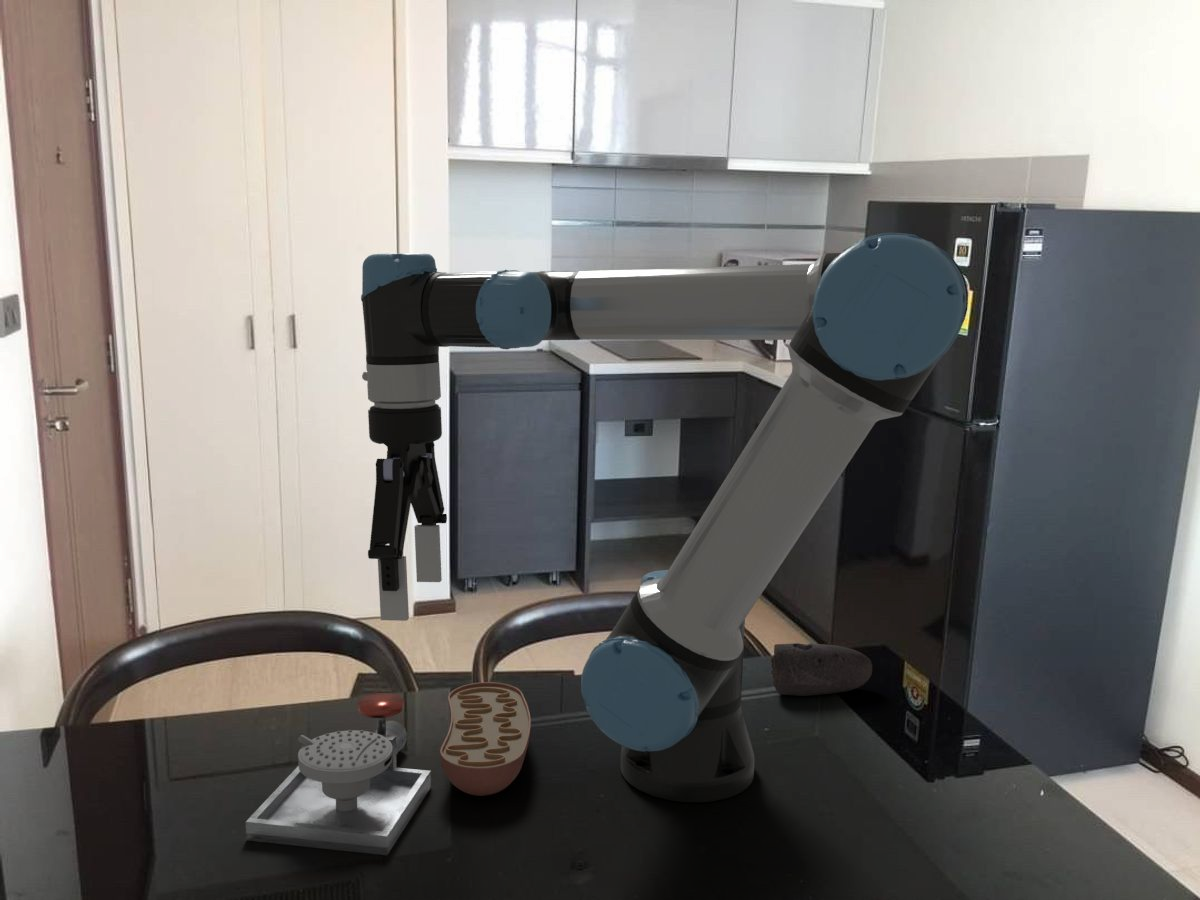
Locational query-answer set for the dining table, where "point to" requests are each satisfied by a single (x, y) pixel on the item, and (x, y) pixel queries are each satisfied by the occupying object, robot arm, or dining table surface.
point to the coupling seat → (380, 812)
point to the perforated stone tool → (818, 669)
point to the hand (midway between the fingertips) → (413, 599)
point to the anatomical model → (485, 737)
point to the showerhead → (344, 763)
